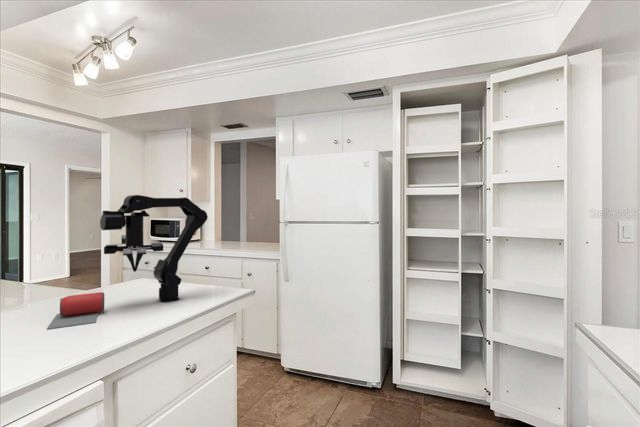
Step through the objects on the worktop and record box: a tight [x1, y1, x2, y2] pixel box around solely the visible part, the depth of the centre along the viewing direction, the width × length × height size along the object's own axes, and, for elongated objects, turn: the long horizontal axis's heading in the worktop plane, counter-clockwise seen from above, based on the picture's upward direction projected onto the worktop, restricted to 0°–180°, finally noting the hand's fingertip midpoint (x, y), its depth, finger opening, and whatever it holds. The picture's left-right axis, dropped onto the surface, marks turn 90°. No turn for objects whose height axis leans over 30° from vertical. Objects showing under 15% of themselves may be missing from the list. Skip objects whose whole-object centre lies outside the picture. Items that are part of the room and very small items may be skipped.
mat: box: [46, 312, 100, 331], centre depth 107 cm, size 12×16×1 cm
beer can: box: [59, 291, 105, 316], centre depth 111 cm, size 7×7×12 cm
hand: (134, 271), depth 120 cm, fingers closed
